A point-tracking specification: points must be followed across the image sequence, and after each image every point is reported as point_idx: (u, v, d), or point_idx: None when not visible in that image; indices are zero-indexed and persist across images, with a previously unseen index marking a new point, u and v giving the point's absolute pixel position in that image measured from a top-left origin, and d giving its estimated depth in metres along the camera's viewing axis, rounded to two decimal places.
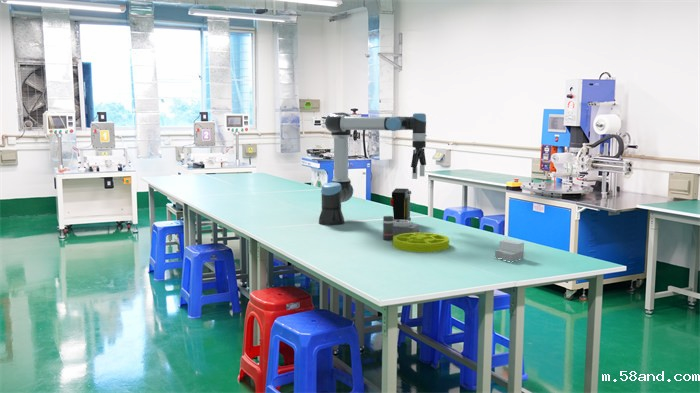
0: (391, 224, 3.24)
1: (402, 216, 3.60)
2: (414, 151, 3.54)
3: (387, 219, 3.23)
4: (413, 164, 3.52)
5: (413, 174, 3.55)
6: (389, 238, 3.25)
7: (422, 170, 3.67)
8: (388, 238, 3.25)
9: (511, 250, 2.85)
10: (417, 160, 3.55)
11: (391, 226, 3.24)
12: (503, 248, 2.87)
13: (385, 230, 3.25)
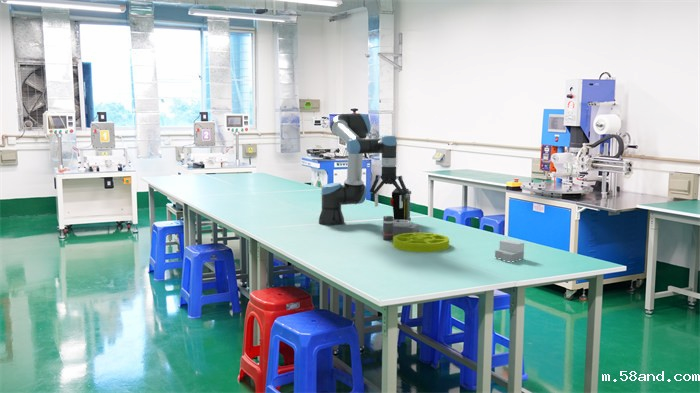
0: (391, 224, 3.24)
1: (402, 216, 3.60)
2: None
3: (387, 219, 3.23)
4: None
5: None
6: (389, 238, 3.25)
7: None
8: (388, 238, 3.25)
9: (511, 250, 2.84)
10: None
11: (391, 226, 3.24)
12: (503, 248, 2.87)
13: (385, 230, 3.25)
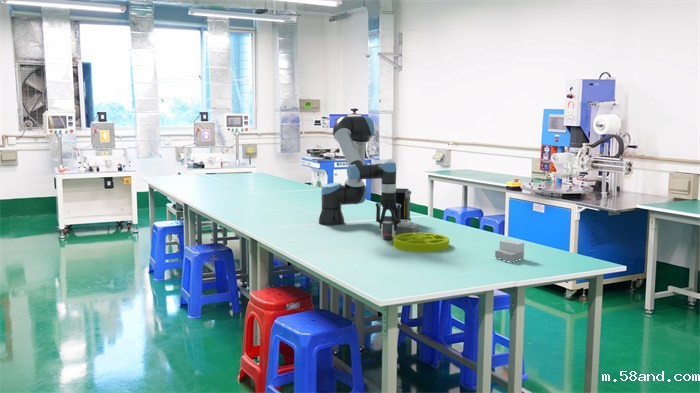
0: (391, 224, 3.24)
1: (402, 216, 3.60)
2: None
3: (387, 219, 3.23)
4: None
5: None
6: (389, 238, 3.25)
7: None
8: (388, 238, 3.25)
9: (511, 250, 2.84)
10: (381, 215, 3.26)
11: (391, 226, 3.24)
12: (503, 248, 2.87)
13: (385, 230, 3.25)
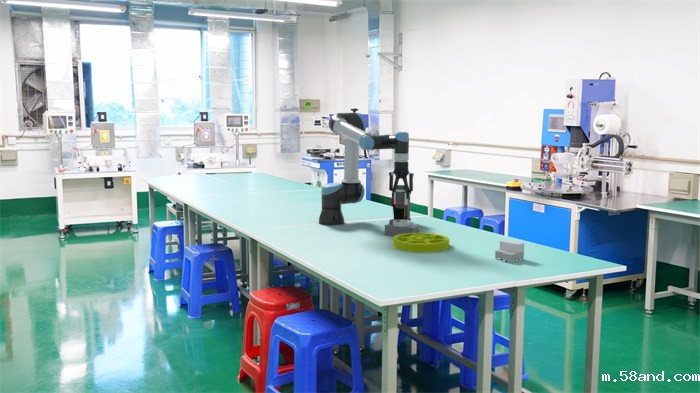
0: (403, 192, 3.34)
1: (402, 216, 3.60)
2: None
3: (400, 187, 3.34)
4: None
5: None
6: (401, 206, 3.35)
7: None
8: (401, 206, 3.35)
9: (511, 250, 2.84)
10: (394, 184, 3.36)
11: (403, 194, 3.35)
12: (503, 248, 2.87)
13: (398, 198, 3.35)
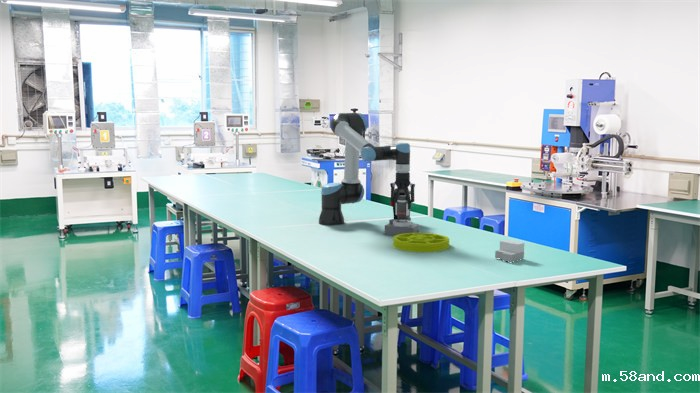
0: (405, 203, 3.37)
1: None
2: None
3: (401, 198, 3.36)
4: None
5: None
6: (403, 216, 3.37)
7: None
8: (402, 217, 3.37)
9: (511, 250, 2.84)
10: None
11: (405, 205, 3.37)
12: (503, 248, 2.87)
13: (399, 209, 3.37)
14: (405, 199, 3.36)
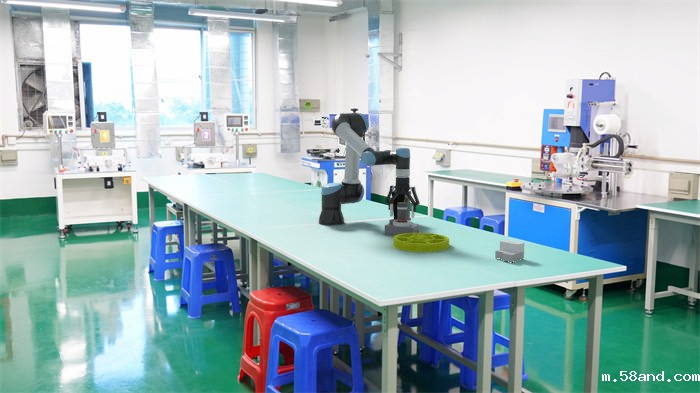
0: (405, 210, 3.37)
1: None
2: None
3: (401, 205, 3.36)
4: None
5: None
6: None
7: None
8: None
9: (511, 250, 2.84)
10: (392, 197, 3.39)
11: (405, 212, 3.37)
12: (503, 248, 2.87)
13: (399, 216, 3.38)
14: (405, 206, 3.37)
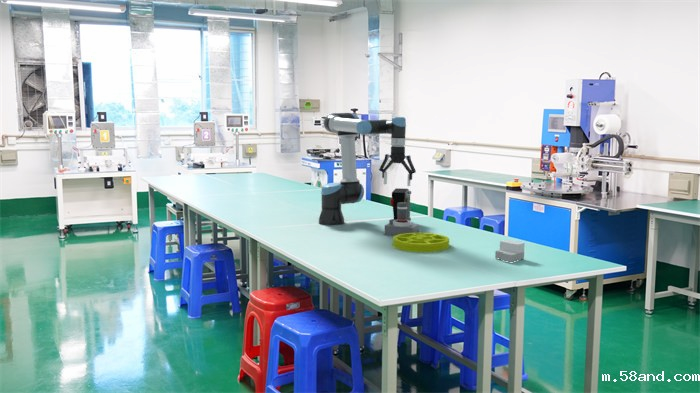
0: (405, 210, 3.37)
1: None
2: None
3: (401, 205, 3.36)
4: None
5: None
6: None
7: None
8: None
9: (511, 250, 2.84)
10: None
11: (405, 212, 3.37)
12: (503, 248, 2.87)
13: (399, 216, 3.38)
14: (405, 206, 3.37)
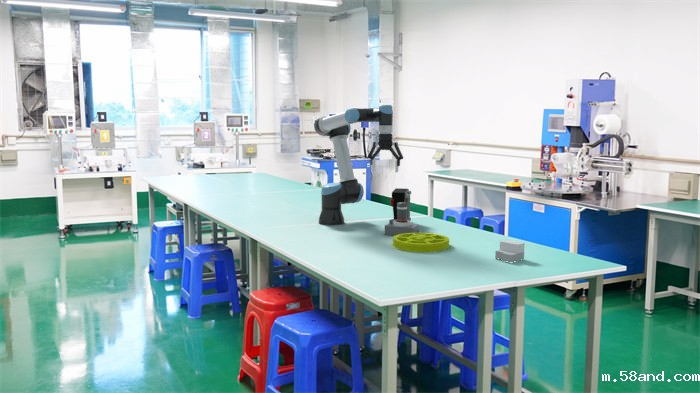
0: (405, 210, 3.37)
1: None
2: None
3: (401, 205, 3.36)
4: None
5: None
6: None
7: None
8: None
9: (511, 251, 2.83)
10: None
11: (405, 212, 3.37)
12: (503, 249, 2.86)
13: (399, 216, 3.38)
14: (405, 206, 3.37)
